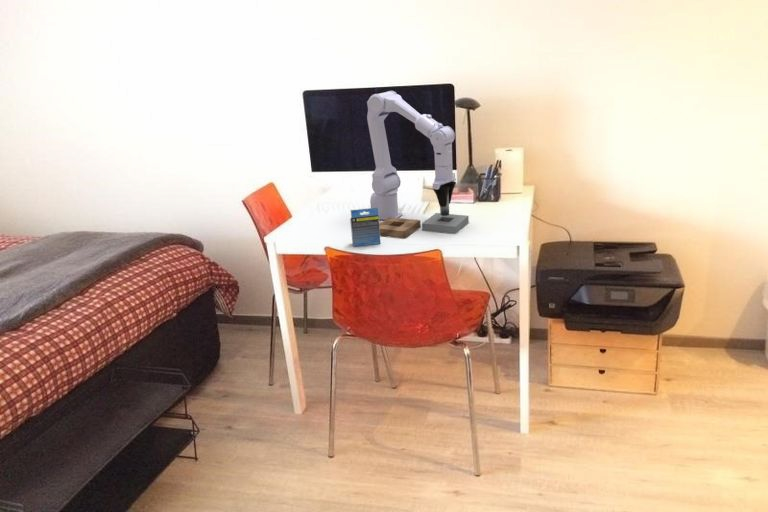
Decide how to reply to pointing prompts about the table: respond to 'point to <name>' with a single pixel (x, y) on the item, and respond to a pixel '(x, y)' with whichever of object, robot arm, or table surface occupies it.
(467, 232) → the table surface
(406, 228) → the socket block
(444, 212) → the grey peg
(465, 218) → the block
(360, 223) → the label tape box
